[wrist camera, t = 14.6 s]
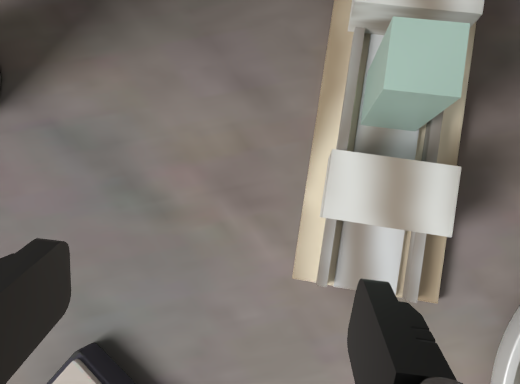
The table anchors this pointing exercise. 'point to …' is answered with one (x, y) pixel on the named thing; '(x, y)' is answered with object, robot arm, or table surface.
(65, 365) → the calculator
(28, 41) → the table surface
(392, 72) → the sage module
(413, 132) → the rail board
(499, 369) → the bowl
